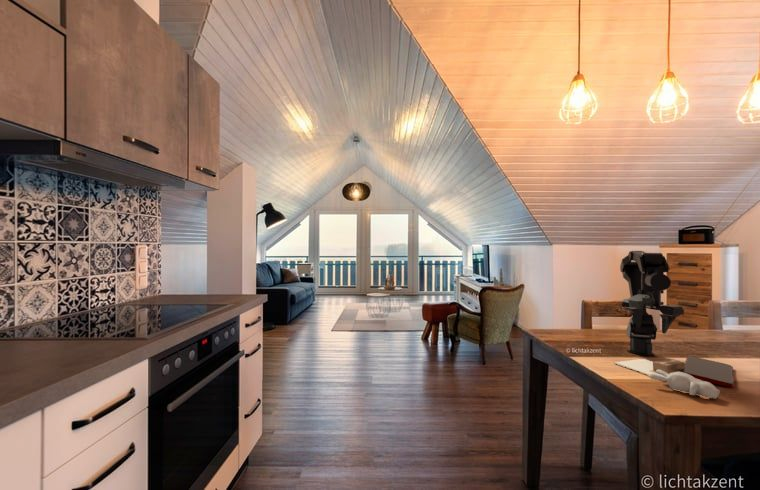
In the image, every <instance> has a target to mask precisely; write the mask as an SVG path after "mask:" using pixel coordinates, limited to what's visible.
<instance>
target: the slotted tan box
mask: <svg viewBox="0 0 760 490" xmlns="http://www.w3.org/2000/svg"><path fill="white" fill-rule="evenodd" d="M652 362H653V371H655V372H656V370H658V369H659V370H662V371H665V372H667V373H668V374H670V373H673V372H682V370H683V369H684V368H685V365H684V364H685V362H684V361H680V360H676V359H671V358H667V359H662V360H656V361H652Z"/></svg>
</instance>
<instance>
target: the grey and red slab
mask: <svg viewBox="0 0 760 490" xmlns="http://www.w3.org/2000/svg"><path fill="white" fill-rule="evenodd" d="M684 365H685V368H684V369H683V370H682V372H683V373H687V374H689V375H691V376H693V377H694V378H696V379H700V380H702V381H706V382H709V383H711V384H713V385H714V384H715V385H719V386H722V387H728V388H729V387H730V388H733V387H734V383H735V379H734V377H733V373H734V366H733V365H730V364H728V363H724V362H721V361H720V362H719V361H714V360H710V359H705V358H701V357H696V356H690V355H689V356H686V359H685V362H684Z"/></svg>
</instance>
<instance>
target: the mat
mask: <svg viewBox="0 0 760 490" xmlns="http://www.w3.org/2000/svg"><path fill="white" fill-rule="evenodd" d="M653 362H654V361H651V360H648V359H645V358H640V359H631V360H623V361H622V360H621V361H614V362H613V364H614V365H616V364H617V365H616V366H618V365H620V366H619V367H621V366H624V367H627V368H630V369H633V370H636V371H639V372H642V373H644V374H647V375H650V373H653V374H657V375H660V374H658V373H656V372H655V371H653ZM624 367H623V368H624ZM627 368H626V369H627ZM630 369H629V370H630ZM644 374H643V375H644ZM661 376H663V375H661ZM664 377H665V376H664Z"/></svg>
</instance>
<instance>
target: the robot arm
mask: <svg viewBox="0 0 760 490" xmlns="http://www.w3.org/2000/svg"><path fill="white" fill-rule="evenodd" d="M619 268H620V269H619V270H620V272H621V273H622V274H621V275H622V277H623V278H624V279H625V281H627V284H628V288H629V289H628V290H629V295H630V297H629V298H625V299H624V298H623V300H622V301H621V307H623V308H624V309H625V310H627V311H629V313H630V314H631V318H630V319H629V321H628V325H627V327H626V330H625V331H626V336H627V337H628V338H629V349H627V350H626V351H627V352H629V353H631V354H635V355H638V356H643V357H645V356H654V355H655V353H654V352H653V343H652V340H653V341H654V340H656V339H657V332H658V328H657V325H656V324H655V322H654V317H653V314H649V313H648V312H647V309H649V310H655V311H659V312H660V313H659V317H660V319H661V332H662V334H666V333H667V332H668V330H669V328H670V327H671V325H672V323H673V322H674V321H675V320H676V318H677V317H680V316H681V315H683V316H684V315H685V309H684V308H683V307H682V306H681V305H676V304H664V301H662V294H663V295H664V294H665V293H664V291H665V290H668V289H669V288H670V286H671V284H672V280H671V278H670V277H669V276H668V275H666V274H665V273H669V270H670V266H669V264H668V261H667V259H666V257H665V256H664V255H663V253H661V252H645V251H643V250H631V251H629V252H628V255H626V256H625V257H623V258H622V260H621V262H620V267H619Z"/></svg>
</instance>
